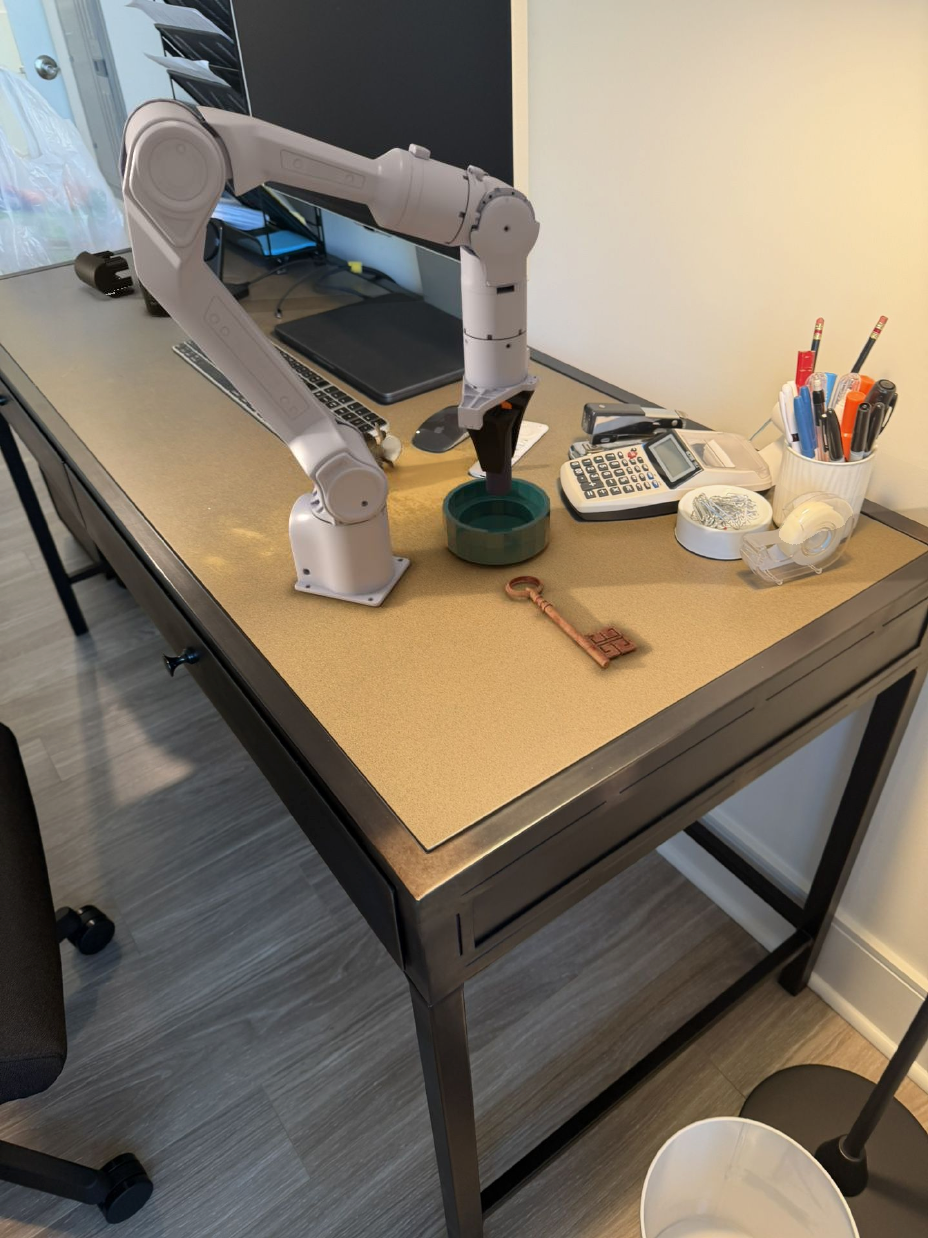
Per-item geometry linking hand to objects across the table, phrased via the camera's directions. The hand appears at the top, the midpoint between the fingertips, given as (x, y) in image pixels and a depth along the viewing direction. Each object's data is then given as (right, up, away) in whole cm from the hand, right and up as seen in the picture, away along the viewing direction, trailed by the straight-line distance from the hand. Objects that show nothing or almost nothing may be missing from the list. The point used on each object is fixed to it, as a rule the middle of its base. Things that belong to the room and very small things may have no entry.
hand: (497, 463), depth 85 cm
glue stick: (0, -2, +2) cm, 3 cm away
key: (+6, -16, -4) cm, 17 cm away
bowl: (0, -7, +7) cm, 10 cm away
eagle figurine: (-16, +2, +19) cm, 25 cm away
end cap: (-71, +47, +79) cm, 116 cm away
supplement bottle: (-57, +40, +69) cm, 98 cm away
